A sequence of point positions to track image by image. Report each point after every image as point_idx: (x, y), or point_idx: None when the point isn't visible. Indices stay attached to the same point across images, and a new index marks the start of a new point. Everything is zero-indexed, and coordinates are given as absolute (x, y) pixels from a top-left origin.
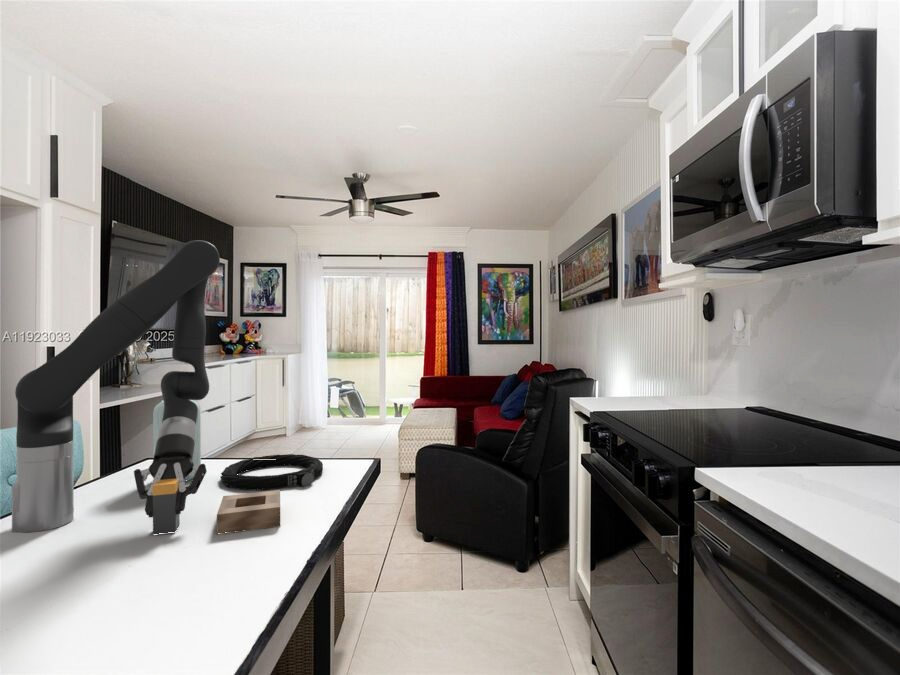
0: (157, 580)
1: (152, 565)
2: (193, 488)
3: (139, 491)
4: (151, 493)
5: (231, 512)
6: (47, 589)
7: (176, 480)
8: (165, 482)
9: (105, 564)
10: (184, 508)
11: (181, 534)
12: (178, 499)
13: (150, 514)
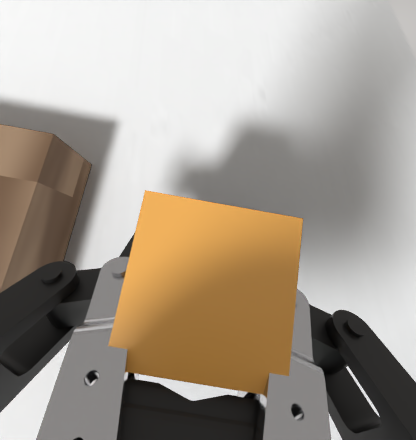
0: (212, 14)
1: (223, 74)
2: (59, 263)
3: (359, 325)
4: None
5: (7, 128)
6: (373, 70)
7: (132, 284)
8: (216, 266)
9: (307, 123)
10: None
11: None
12: None
13: None
